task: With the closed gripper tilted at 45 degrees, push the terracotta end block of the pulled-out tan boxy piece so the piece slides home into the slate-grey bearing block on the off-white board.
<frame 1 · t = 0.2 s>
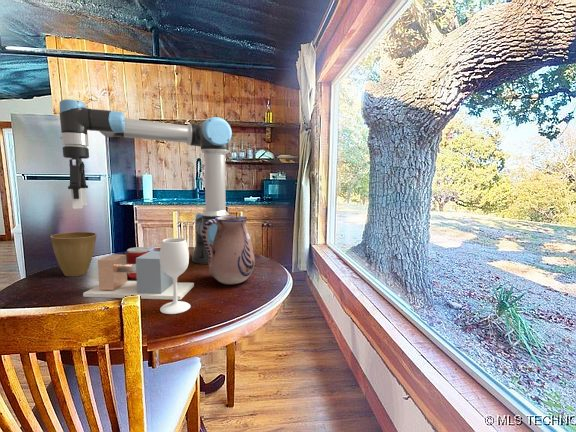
hand: (80, 207, 107), 28 cm above the table, tool pointing down, fingers open, 13 cm apart
dark slate chunk: (129, 263, 140), on the table
canned food: (138, 276, 120), on the table
plant pot: (76, 274, 121), on the table
ceramic pitcher: (228, 282, 115), on the table
bearing block: (144, 291, 104), on the table
wineglass: (175, 308, 91), on the table
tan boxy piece: (134, 272, 103), point 7 cm above the table, slide at 8.0 cm
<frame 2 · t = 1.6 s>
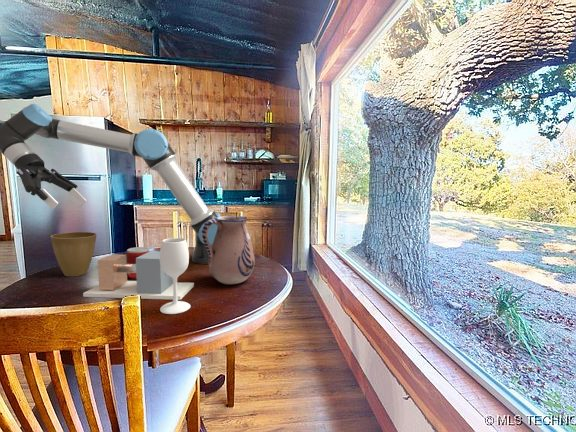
hand: (70, 204, 105), 29 cm above the table, tool tilted 45°, fingers open, 13 cm apart
nothing on the table moved.
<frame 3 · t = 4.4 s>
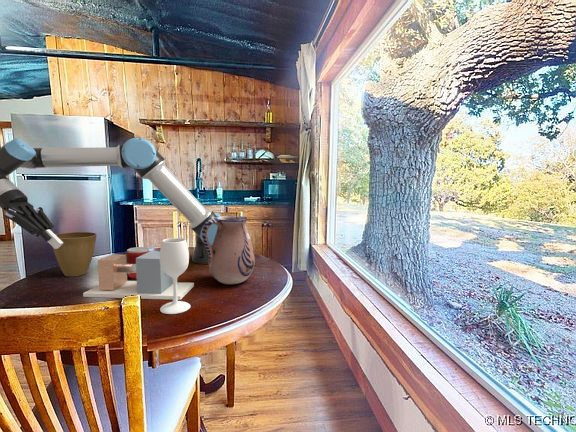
hand: (59, 245, 102), 15 cm above the table, tool tilted 45°, fingers closed
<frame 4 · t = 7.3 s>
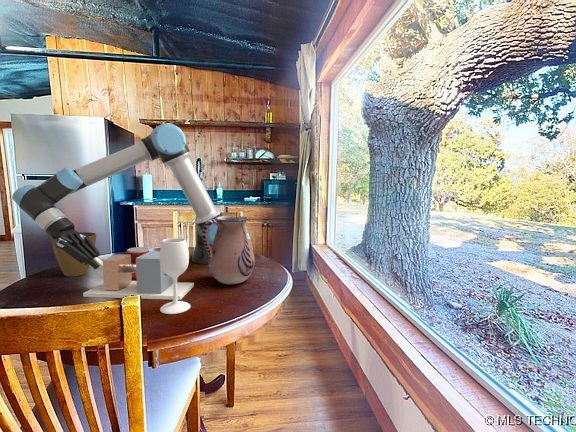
hand: (106, 273, 103), 6 cm above the table, tool tilted 45°, fingers closed
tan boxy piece: (139, 272, 103), point 7 cm above the table, slide at 6.3 cm, touching gripper
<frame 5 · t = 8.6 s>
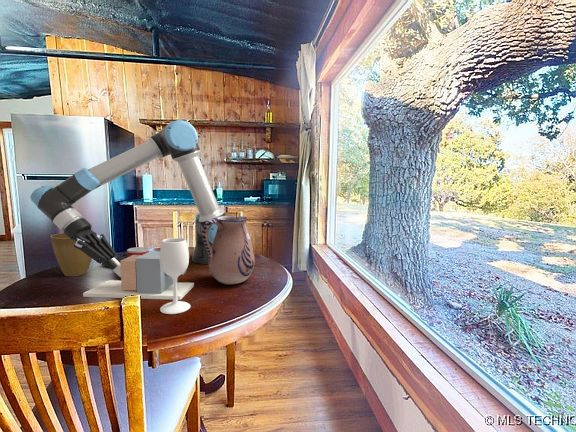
hand: (123, 273, 103), 6 cm above the table, tool tilted 45°, fingers closed
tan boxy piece: (156, 272, 103), point 7 cm above the table, slide at 0.4 cm, touching gripper
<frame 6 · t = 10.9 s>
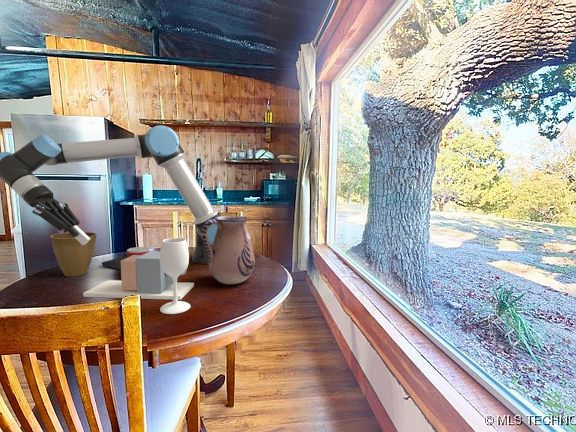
hand: (86, 241, 102), 17 cm above the table, tool tilted 45°, fingers closed
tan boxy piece: (156, 272, 103), point 7 cm above the table, slide at 0.3 cm
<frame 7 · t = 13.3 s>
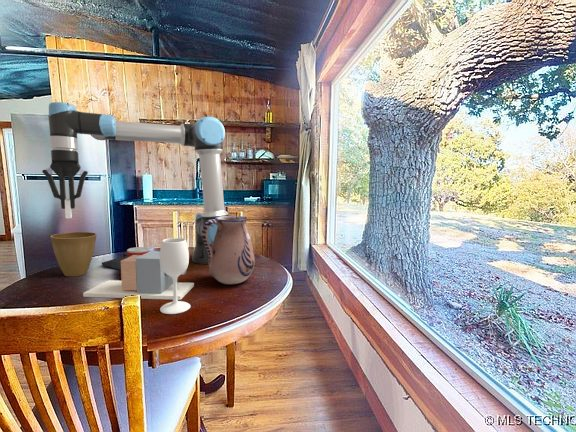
hand: (68, 217, 106), 24 cm above the table, tool pointing down, fingers closed
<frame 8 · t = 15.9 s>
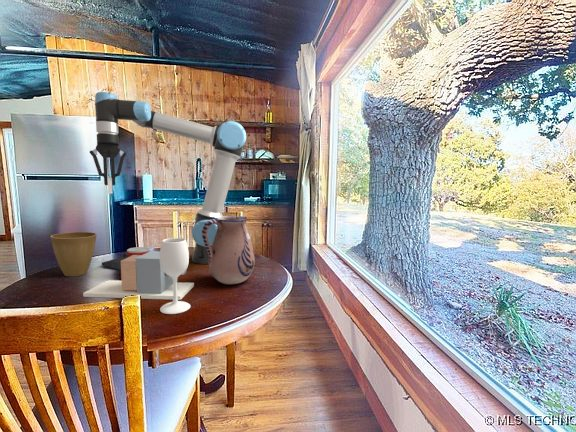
hand: (110, 193, 121), 32 cm above the table, tool pointing down, fingers closed
at the end: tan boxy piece slide at 0.3 cm; wineglass moved 0.2 cm from its start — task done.
